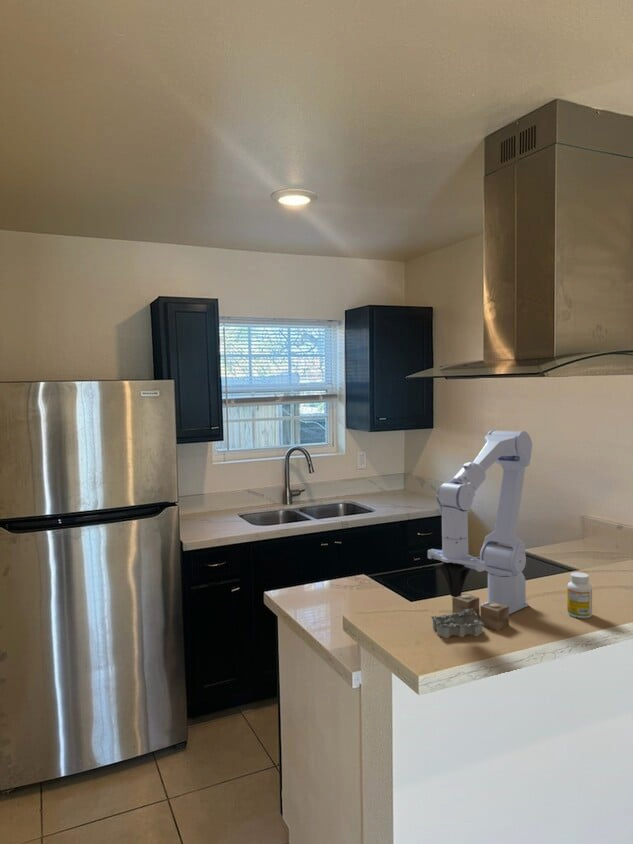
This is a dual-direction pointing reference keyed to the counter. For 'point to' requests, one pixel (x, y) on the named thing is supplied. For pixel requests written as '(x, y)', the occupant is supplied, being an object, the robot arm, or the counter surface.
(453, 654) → the counter surface
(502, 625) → the dotted block
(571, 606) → the supplement bottle
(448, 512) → the robot arm
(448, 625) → the egg carton
